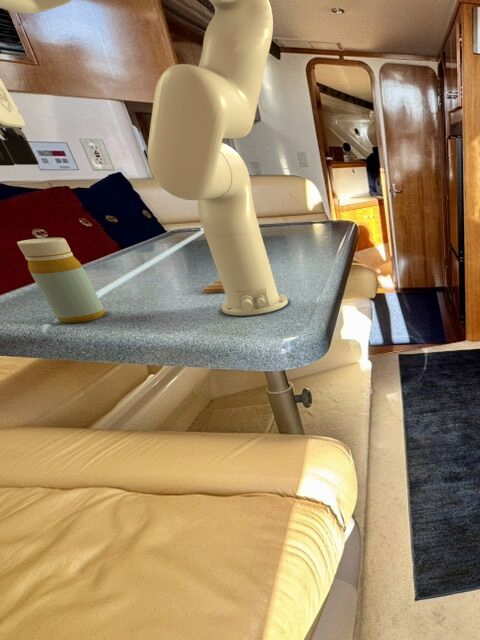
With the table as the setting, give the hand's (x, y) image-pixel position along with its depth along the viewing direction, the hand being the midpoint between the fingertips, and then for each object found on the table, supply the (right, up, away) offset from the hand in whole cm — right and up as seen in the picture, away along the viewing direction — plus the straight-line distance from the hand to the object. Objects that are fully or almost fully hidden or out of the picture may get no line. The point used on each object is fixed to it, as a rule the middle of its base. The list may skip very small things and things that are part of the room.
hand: (15, 165), depth 71 cm
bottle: (+2, -26, +9) cm, 28 cm away
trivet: (+18, -15, +28) cm, 37 cm away
